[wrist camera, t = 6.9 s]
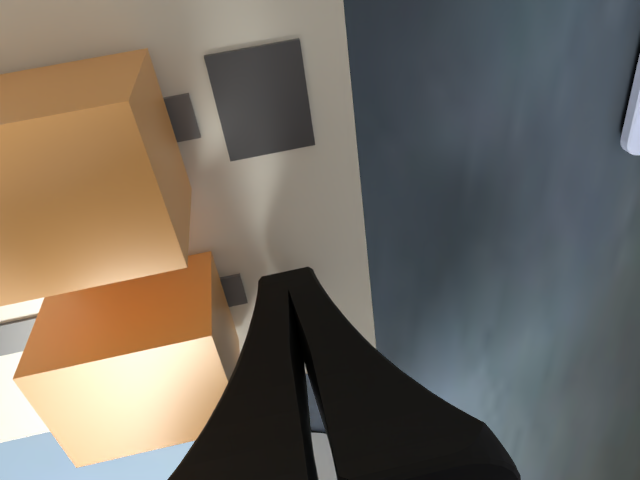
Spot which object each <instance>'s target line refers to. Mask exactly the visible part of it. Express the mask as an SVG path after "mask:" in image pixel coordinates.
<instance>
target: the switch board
mask: <svg viewBox="0 0 640 480" xmlns="http://www.w3.org/2000/svg"><path fill="white" fill-rule="evenodd" d="M145 48H148V51H149V54H150V57H151V61H152V64H153V67H154V70H155V73H156V77H157V80H158V83H159V86H160V89H161V93H162V96H163V99H164V102H165V105H166V109H167V112H168V115H169V118H170V121H171V125H172V128H173V131H174V134H175V137H176V140H177V144H178V147H179V150H180V153H181V156H182V160H183V163H184V166H185V169H186V172H187V176H188V179H189V182H190V185H191V188H192V194H191V213H190V231H189V249H188V256H190V255H194V254H199V253H204V252H209V251H211V252H212V255H213V259H214V262H215V265H216V268H217V271H218V275H219V278H220V281H221V284H222V287H223V290H224V294H225V297H226V300H227V303H228V306H229V310H230V313H231V316H232V319H233V322H234V326H235V329H236V332H237V335H238V338H239V349H240V353H241V350H242V347H243V345H244V342H245V339H246V336H247V333H248V329H249V326H250V322H251V319H252V315H253V311H254V307H255V302H256V297H257V291H258V281H259V279H260V278H261V277H262V276H266V275H271V274H276V273H280V272H285V271H290V270H294V269H299V268H304V267H310V268H312V269H313V270H314V273H315V275H316V277H317V279H318V280H319V282H320V284H321V285H322V287H323V288H324V290H325V291H326V293H327V294H328V296H329V297H330V298H331V300H332V301H333V302H334V304H335V305H336V306H337V307H338V309H339V310H340V311H341V312H342V314H343V315H344V316H345V317H346V318H347V320H348V321H349V322H350V323H351V324H352V325H353V326H354V327H355V328H356V329H357V331H358V332H359V333H360V334H361V335H362V336H363V337H364V338H365V339H366V340H367V341H368V342H369V343H370V344H371V345H372V346H373V347H374V348H375V349H376V340H375V329H374V319H373V308H372V298H371V287H370V277H369V266H368V255H367V245H366V234H365V224H364V213H363V203H362V192H361V182H360V171H359V161H358V150H357V140H356V129H355V119H354V108H353V98H352V87H351V77H350V66H349V56H348V45H347V35H346V24H345V14H344V3H343V0H0V74H6V73H11V72H17V71H22V70H28V69H34V68H39V67H45V66H50V65H56V64H61V63H67V62H73V61H78V60H84V59H89V58H95V57H101V56H106V55H112V54H117V53H123V52H128V51H134V50H140V49H145ZM43 300H44V298H39V299H34V300H29V301H24V302H20V303H15V304H10V305H5V306H0V443H1V442H6V441H10V440H15V439H19V438H24V437H28V436H32V435H37V434H41V433H46V432H50V431H49V429H48V428H47V426H46V425H45V424H44V422H43V421H42V419H41V418H40V417H39V415H38V414H37V412H36V411H35V410H34V408H33V407H32V406H31V404H30V403H29V401H28V400H27V399H26V397H25V396H24V394H23V393H22V392H21V390H20V389H19V388H18V386H17V385H16V383H15V382H14V381H13V376H14V374H15V371H16V369H17V366H18V364H19V361H20V359H21V356H22V354H23V351H24V348H25V346H26V343H27V341H28V338H29V336H30V333H31V331H32V328H33V325H34V323H35V320H36V318H37V315H38V313H39V310H40V308H41V305H42V303H43ZM304 365H305V363H304ZM305 374H308V373H307V370H306V366H305Z"/></svg>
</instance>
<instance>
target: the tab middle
mask: <svg viewBox="0 0 640 480" xmlns="http://www.w3.org/2000/svg"><path fill="white" fill-rule="evenodd" d="M191 194H192V188H191V185H190V182H189V179H188V176H187V172H186V169H185V166H184V163H183V160H182V156H181V153H180V150H179V147H178V144H177V140H176V137H175V134H174V131H173V128H172V125H171V121H170V118H169V115H168V112H167V109H166V105H165V102H164V99H163V96H162V93H161V89H160V86H159V83H158V80H157V77H156V73H155V70H154V67H153V64H152V61H151V57H150V54H149V51H148V48H145V49H140V50H134V51H128V52H123V53H117V54H112V55H106V56H101V57H95V58H89V59H84V60H78V61H73V62H67V63H61V64H56V65H50V66H45V67H39V68H34V69H28V70H22V71H17V72H11V73H6V74H0V306H5V305H10V304H15V303H20V302H24V301H29V300H34V299H39V298H44V297H48V296H53V295H58V294H63V293H68V292H72V291H77V290H82V289H87V288H92V287H96V286H101V285H106V284H111V283H116V282H120V281H125V280H130V279H135V278H140V277H144V276H149V275H154V274H159V273H164V272H168V271H173V270H178V269H183V268H187V267H188V249H189V231H190V213H191Z"/></svg>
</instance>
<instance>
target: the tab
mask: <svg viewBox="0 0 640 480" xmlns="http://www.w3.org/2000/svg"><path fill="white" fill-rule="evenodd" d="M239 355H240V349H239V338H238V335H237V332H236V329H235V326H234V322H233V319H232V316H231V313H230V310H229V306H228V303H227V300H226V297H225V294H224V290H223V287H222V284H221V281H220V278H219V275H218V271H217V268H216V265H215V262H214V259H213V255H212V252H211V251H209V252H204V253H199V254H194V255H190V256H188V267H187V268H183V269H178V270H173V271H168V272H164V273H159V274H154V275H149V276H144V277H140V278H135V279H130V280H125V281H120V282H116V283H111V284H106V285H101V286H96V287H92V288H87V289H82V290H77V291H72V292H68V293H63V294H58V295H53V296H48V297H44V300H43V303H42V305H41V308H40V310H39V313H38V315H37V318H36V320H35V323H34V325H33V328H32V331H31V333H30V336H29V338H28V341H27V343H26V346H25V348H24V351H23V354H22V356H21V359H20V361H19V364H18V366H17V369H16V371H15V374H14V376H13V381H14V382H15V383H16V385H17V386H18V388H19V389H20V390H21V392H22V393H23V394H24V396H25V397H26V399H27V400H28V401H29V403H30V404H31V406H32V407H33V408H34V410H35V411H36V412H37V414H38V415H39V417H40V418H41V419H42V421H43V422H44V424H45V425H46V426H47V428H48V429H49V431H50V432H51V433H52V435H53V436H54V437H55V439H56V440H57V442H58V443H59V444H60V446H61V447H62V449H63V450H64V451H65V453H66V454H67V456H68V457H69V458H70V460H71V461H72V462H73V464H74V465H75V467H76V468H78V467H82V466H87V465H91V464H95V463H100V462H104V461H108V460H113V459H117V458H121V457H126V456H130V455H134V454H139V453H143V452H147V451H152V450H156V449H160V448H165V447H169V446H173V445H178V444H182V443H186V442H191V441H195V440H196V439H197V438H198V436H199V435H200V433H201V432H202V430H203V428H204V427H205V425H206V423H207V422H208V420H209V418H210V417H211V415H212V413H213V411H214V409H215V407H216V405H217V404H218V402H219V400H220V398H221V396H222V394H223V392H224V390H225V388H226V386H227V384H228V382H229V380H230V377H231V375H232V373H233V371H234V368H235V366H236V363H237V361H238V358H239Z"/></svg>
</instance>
